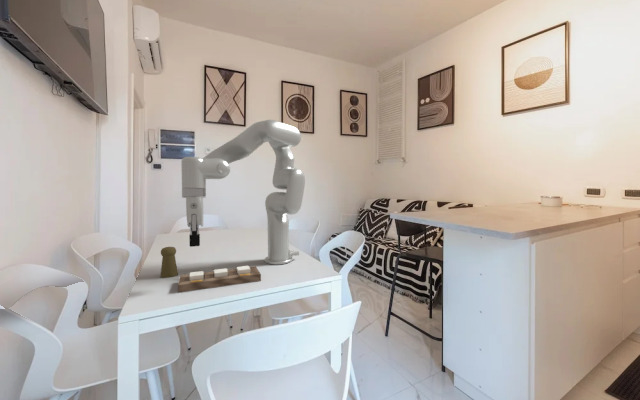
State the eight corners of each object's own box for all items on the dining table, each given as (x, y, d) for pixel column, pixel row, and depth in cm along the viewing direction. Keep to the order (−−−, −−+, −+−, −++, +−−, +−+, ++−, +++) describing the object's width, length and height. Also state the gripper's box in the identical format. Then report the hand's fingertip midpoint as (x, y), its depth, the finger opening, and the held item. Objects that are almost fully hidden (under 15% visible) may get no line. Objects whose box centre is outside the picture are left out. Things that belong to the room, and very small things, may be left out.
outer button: (203, 277, 99) (203, 270, 99) (203, 281, 95) (203, 274, 95) (190, 279, 97) (190, 272, 97) (189, 283, 93) (189, 276, 93)
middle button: (226, 274, 102) (226, 268, 102) (227, 278, 98) (227, 271, 98) (214, 276, 100) (214, 269, 100) (214, 280, 96) (214, 273, 96)
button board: (255, 272, 109) (255, 265, 109) (260, 280, 100) (260, 273, 100) (180, 282, 98) (180, 274, 98) (178, 292, 89) (178, 284, 89)
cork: (160, 274, 107) (159, 246, 106) (177, 271, 110) (176, 244, 109) (160, 278, 102) (159, 249, 101) (178, 276, 105) (177, 248, 104)
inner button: (248, 271, 105) (248, 265, 105) (250, 275, 101) (250, 268, 101) (236, 273, 103) (236, 266, 103) (238, 277, 99) (238, 270, 99)
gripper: (206, 194, 88) (206, 249, 89) (205, 192, 102) (206, 240, 103) (180, 194, 85) (181, 251, 86) (183, 192, 99) (184, 242, 100)
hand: (194, 245), depth 95 cm, fingers closed
